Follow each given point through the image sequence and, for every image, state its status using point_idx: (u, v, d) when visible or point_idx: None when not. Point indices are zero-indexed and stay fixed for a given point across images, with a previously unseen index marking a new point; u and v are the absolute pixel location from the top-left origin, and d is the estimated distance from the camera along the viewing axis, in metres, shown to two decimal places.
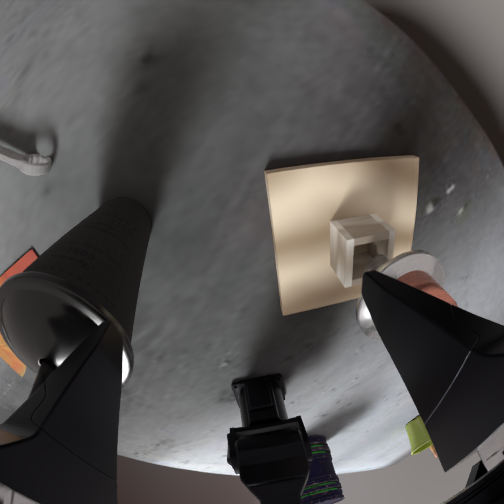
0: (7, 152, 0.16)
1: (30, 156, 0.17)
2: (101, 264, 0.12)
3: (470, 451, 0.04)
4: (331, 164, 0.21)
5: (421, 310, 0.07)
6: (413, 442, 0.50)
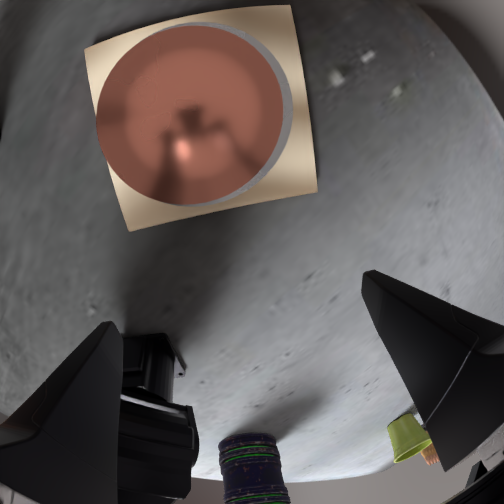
0: None
1: None
2: None
3: (470, 451, 0.04)
4: (157, 24, 0.13)
5: (421, 310, 0.07)
6: (396, 447, 0.41)
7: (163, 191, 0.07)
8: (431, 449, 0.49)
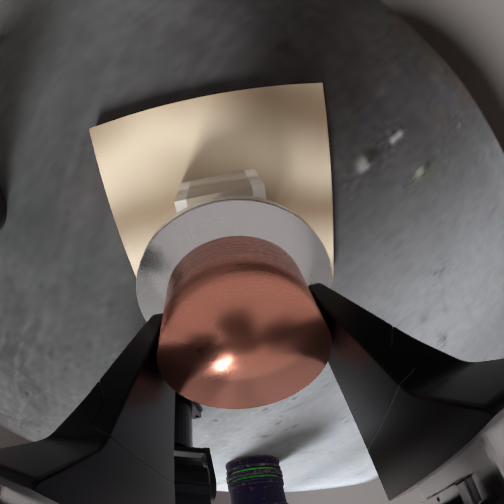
0: None
1: None
2: None
3: (408, 487, 0.04)
4: (171, 103, 0.14)
5: (354, 332, 0.06)
6: None
7: (224, 404, 0.08)
8: None
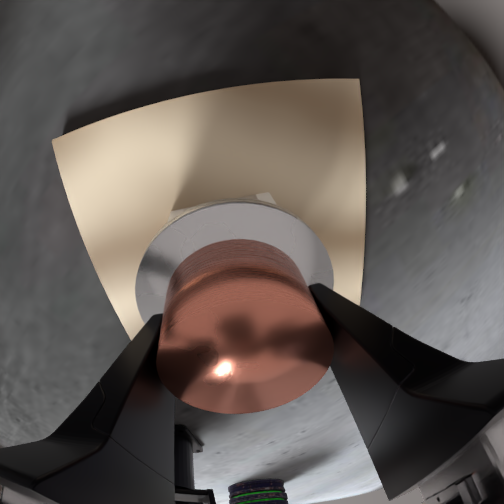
0: None
1: None
2: None
3: (408, 487, 0.04)
4: (156, 103, 0.10)
5: (354, 332, 0.06)
6: None
7: (224, 409, 0.08)
8: None
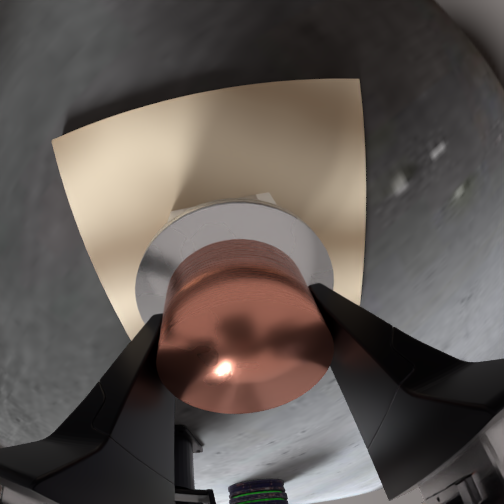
0: None
1: None
2: None
3: (408, 487, 0.04)
4: (156, 103, 0.10)
5: (354, 332, 0.06)
6: None
7: (224, 409, 0.08)
8: None
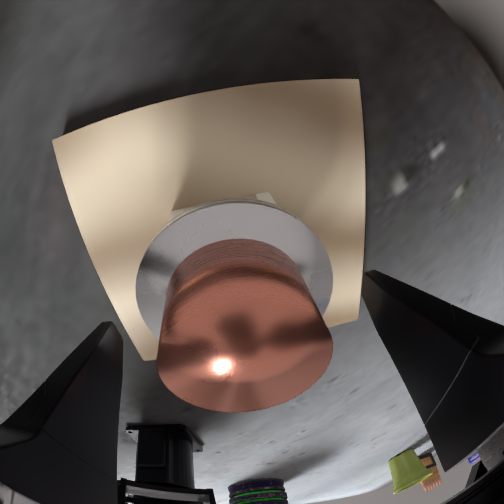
0: None
1: None
2: None
3: (470, 451, 0.04)
4: (157, 103, 0.10)
5: (421, 310, 0.07)
6: (396, 481, 0.39)
7: (224, 407, 0.08)
8: (429, 476, 0.47)
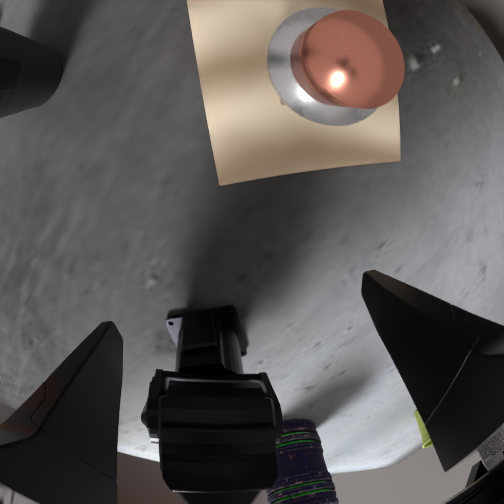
0: None
1: None
2: None
3: (470, 451, 0.04)
4: None
5: (421, 310, 0.07)
6: (425, 432, 0.41)
7: (345, 96, 0.10)
8: None
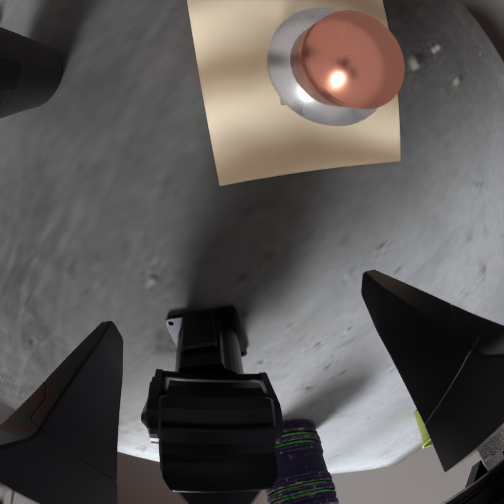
0: None
1: None
2: None
3: (470, 451, 0.04)
4: None
5: (421, 310, 0.07)
6: (424, 432, 0.41)
7: (345, 97, 0.10)
8: None
